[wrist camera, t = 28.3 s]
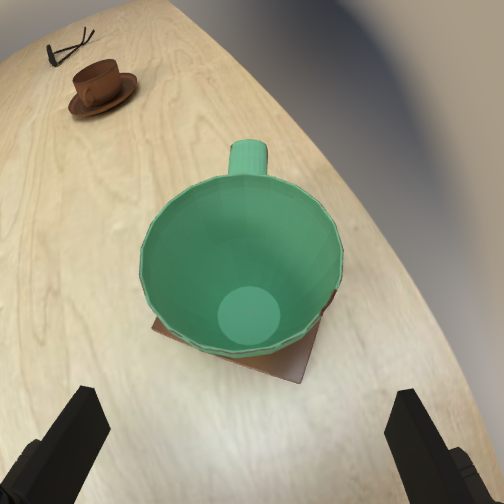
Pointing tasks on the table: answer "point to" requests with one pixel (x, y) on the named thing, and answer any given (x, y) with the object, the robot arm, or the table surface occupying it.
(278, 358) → the brown pad
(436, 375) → the table surface
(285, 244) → the mug
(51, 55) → the sunglasses
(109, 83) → the cup and saucer
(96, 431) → the robot arm
